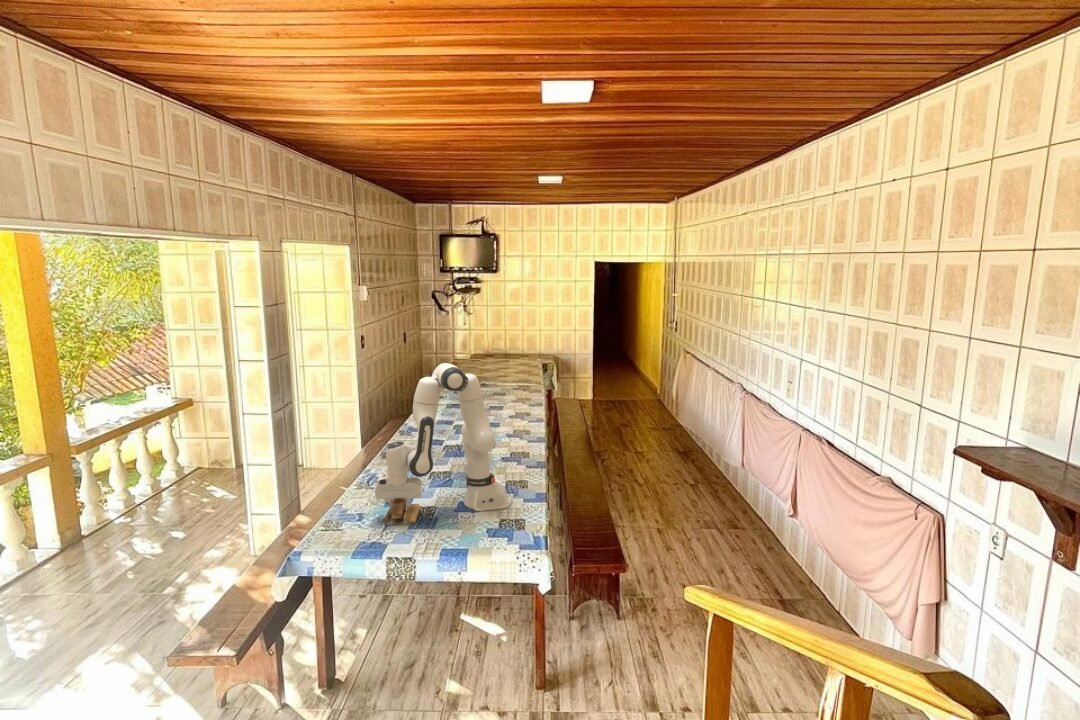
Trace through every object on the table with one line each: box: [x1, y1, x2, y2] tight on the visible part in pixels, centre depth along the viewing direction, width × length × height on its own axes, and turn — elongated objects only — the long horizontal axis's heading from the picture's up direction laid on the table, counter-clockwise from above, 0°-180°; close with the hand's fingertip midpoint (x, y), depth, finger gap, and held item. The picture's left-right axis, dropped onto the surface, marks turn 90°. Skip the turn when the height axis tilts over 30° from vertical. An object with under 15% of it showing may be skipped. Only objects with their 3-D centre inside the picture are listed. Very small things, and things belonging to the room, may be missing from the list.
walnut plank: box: [390, 498, 407, 519], centre depth 249 cm, size 4×12×6 cm, turn 3°
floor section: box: [383, 503, 421, 527], centre depth 250 cm, size 14×13×4 cm
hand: (399, 506), depth 249 cm, fingers closed on walnut plank, 4 cm apart
